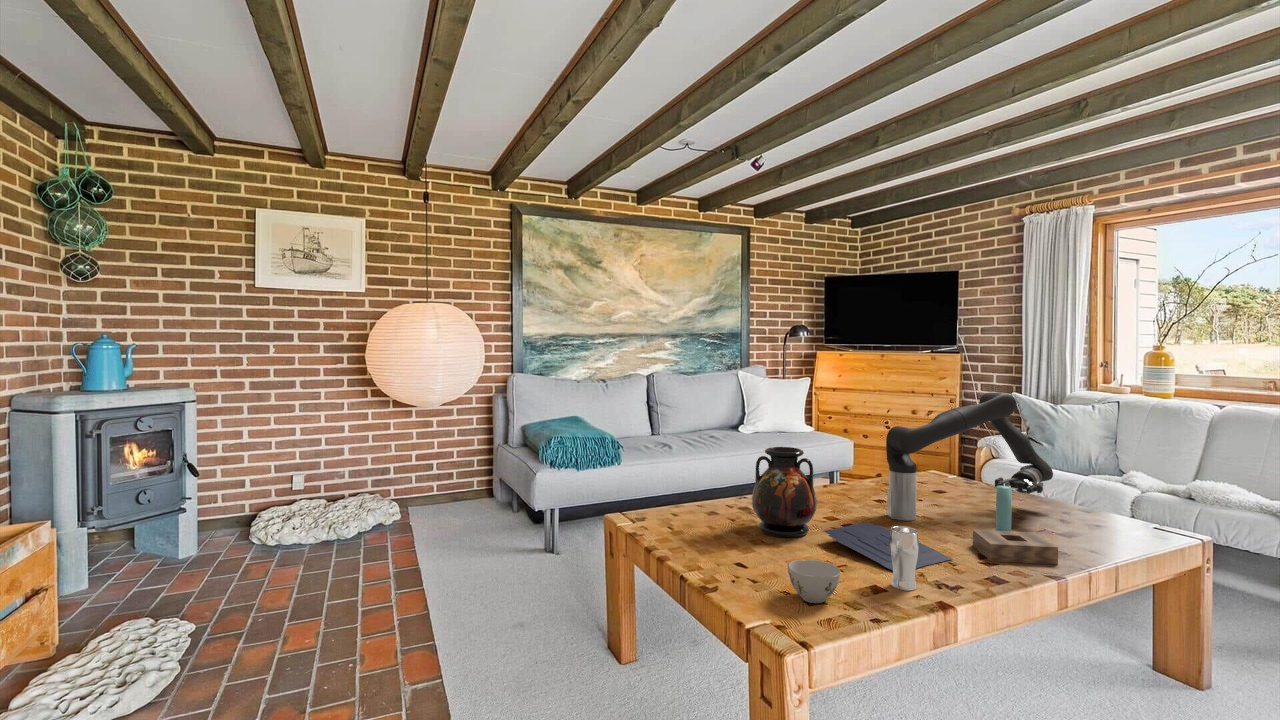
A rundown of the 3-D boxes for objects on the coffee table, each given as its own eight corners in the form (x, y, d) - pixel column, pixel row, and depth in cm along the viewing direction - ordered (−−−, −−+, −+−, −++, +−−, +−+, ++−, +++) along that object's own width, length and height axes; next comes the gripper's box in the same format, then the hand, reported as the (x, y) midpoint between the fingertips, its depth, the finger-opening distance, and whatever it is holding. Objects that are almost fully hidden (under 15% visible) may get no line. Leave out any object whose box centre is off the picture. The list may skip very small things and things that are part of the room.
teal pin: (998, 536, 200) (999, 488, 200) (993, 532, 205) (994, 485, 204) (1013, 537, 200) (1014, 489, 199) (1007, 533, 204) (1008, 485, 204)
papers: (870, 528, 205) (871, 518, 205) (952, 567, 179) (953, 556, 179) (817, 540, 194) (818, 529, 193) (897, 583, 168) (898, 571, 167)
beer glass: (910, 580, 163) (910, 525, 163) (923, 591, 156) (923, 533, 156) (884, 581, 163) (885, 525, 162) (896, 591, 156) (897, 533, 155)
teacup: (851, 602, 150) (851, 570, 149) (815, 614, 143) (815, 580, 143) (805, 581, 162) (805, 552, 162) (770, 591, 156) (770, 561, 156)
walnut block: (990, 560, 178) (990, 543, 178) (972, 545, 192) (972, 529, 192) (1057, 564, 175) (1058, 547, 175) (1034, 548, 189) (1035, 532, 189)
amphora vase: (748, 538, 199) (748, 453, 199) (755, 520, 220) (755, 443, 219) (816, 544, 193) (816, 456, 192) (817, 525, 214) (817, 446, 213)
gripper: (1003, 467, 226) (990, 475, 215) (1048, 473, 216) (1037, 481, 205) (1003, 487, 226) (990, 496, 215) (1048, 494, 216) (1037, 503, 205)
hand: (1013, 488), depth 210 cm, fingers open, 8 cm apart
